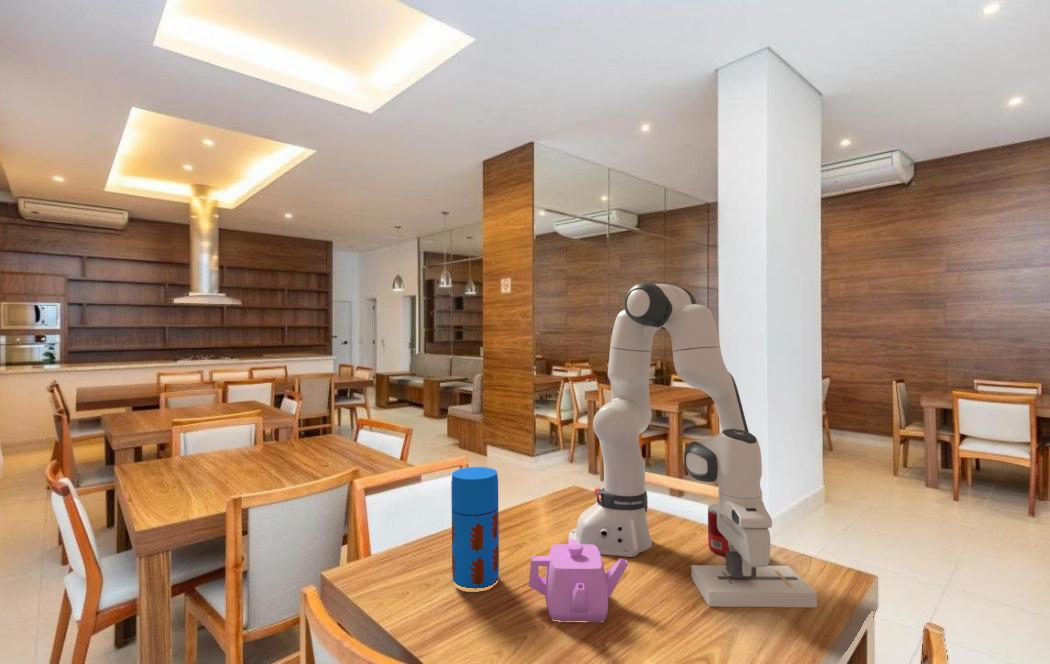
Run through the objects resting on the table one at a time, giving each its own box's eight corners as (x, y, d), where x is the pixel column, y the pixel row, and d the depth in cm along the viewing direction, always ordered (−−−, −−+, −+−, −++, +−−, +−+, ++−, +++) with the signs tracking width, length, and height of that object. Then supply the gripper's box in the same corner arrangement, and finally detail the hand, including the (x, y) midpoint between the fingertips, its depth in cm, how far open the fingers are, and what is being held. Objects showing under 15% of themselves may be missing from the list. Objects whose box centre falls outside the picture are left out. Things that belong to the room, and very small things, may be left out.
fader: (732, 580, 107) (732, 559, 107) (725, 571, 111) (725, 551, 111) (756, 580, 107) (756, 559, 107) (748, 572, 111) (748, 551, 111)
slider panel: (709, 606, 103) (708, 591, 103) (691, 578, 115) (691, 564, 115) (817, 607, 102) (816, 592, 102) (788, 578, 114) (788, 565, 114)
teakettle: (571, 577, 116) (571, 524, 116) (633, 605, 104) (632, 546, 104) (519, 605, 105) (518, 546, 105) (581, 640, 92) (581, 573, 92)
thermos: (507, 575, 117) (506, 469, 117) (484, 597, 108) (483, 481, 108) (467, 566, 122) (466, 464, 122) (442, 587, 112) (441, 476, 112)
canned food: (744, 558, 125) (743, 514, 125) (710, 555, 127) (710, 512, 127) (737, 545, 133) (737, 504, 133) (706, 543, 134) (705, 502, 134)
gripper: (709, 490, 119) (710, 548, 119) (744, 522, 99) (744, 592, 99) (736, 490, 119) (736, 548, 119) (776, 522, 99) (777, 592, 99)
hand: (740, 568), depth 109 cm, fingers closed on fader, 4 cm apart
